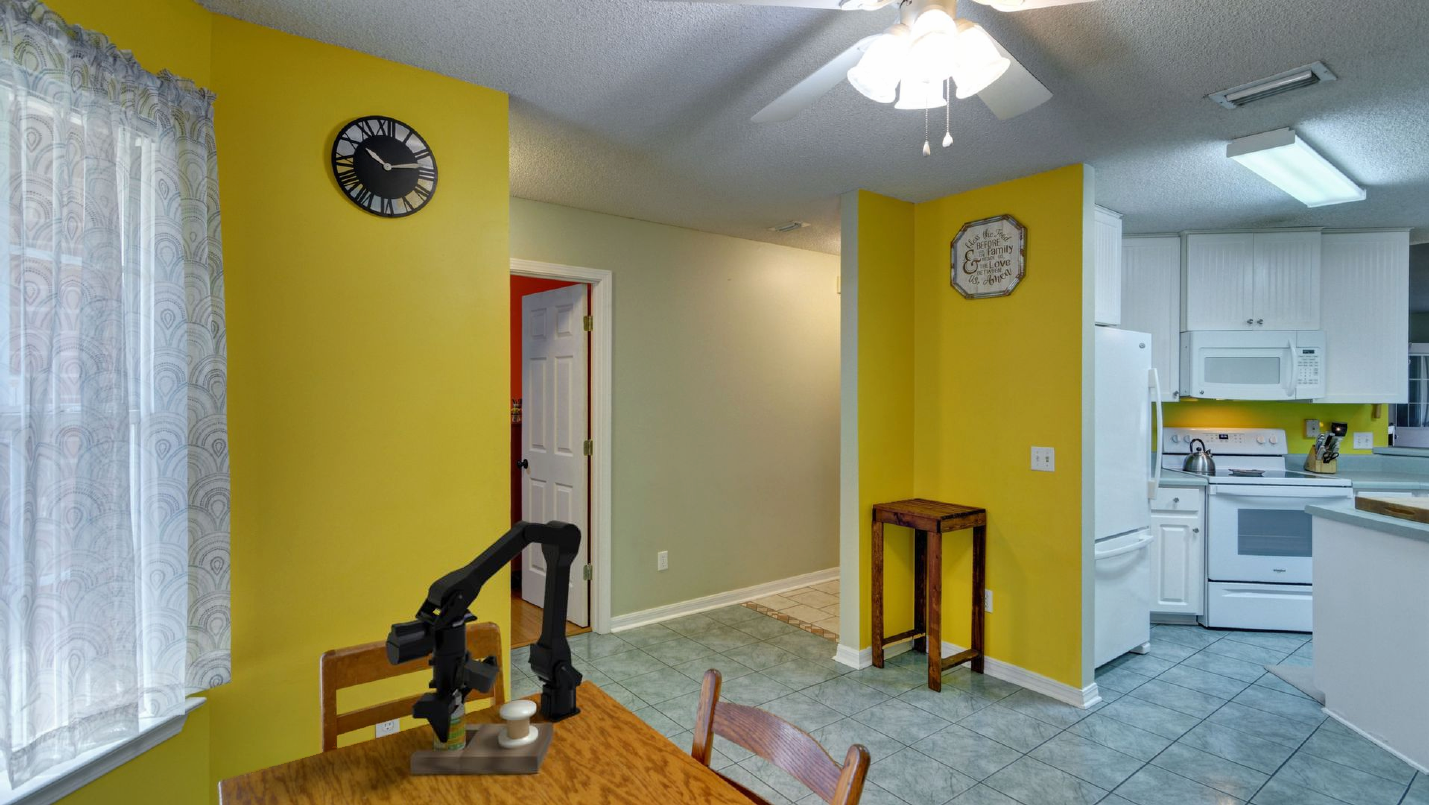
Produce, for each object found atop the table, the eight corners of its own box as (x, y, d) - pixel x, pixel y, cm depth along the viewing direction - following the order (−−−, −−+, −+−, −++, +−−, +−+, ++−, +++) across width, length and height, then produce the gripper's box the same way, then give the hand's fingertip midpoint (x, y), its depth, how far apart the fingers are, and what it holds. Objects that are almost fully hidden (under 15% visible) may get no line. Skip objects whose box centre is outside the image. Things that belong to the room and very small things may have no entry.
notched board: (553, 739, 131) (553, 723, 131) (537, 773, 119) (537, 756, 119) (437, 740, 130) (437, 724, 130) (410, 774, 118) (410, 757, 118)
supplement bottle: (448, 758, 121) (448, 704, 121) (427, 751, 123) (427, 698, 123) (472, 745, 126) (471, 692, 125) (451, 738, 128) (451, 686, 128)
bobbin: (525, 726, 129) (525, 695, 129) (545, 739, 125) (545, 707, 125) (491, 739, 124) (491, 707, 124) (510, 753, 120) (510, 720, 120)
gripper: (476, 669, 115) (477, 761, 115) (508, 631, 134) (509, 710, 134) (410, 670, 115) (411, 762, 115) (451, 632, 134) (452, 711, 134)
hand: (450, 734), depth 124 cm, fingers closed on supplement bottle, 5 cm apart
